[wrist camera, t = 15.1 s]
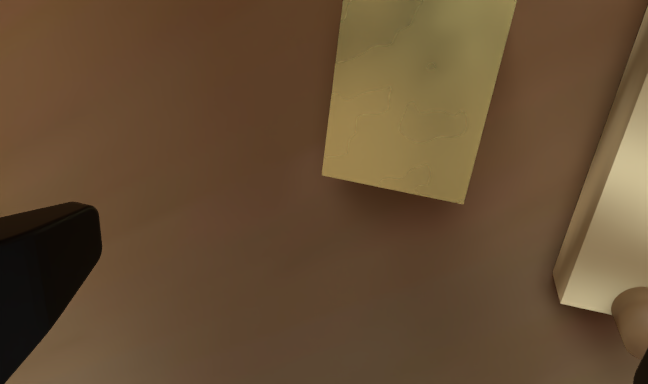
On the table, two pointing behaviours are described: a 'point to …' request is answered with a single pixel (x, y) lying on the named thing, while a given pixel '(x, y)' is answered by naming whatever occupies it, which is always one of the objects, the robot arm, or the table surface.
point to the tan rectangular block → (414, 92)
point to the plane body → (614, 215)
